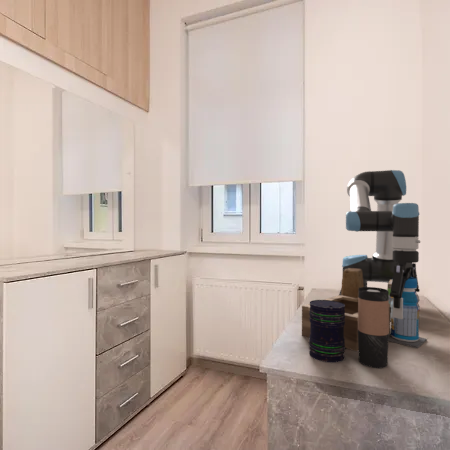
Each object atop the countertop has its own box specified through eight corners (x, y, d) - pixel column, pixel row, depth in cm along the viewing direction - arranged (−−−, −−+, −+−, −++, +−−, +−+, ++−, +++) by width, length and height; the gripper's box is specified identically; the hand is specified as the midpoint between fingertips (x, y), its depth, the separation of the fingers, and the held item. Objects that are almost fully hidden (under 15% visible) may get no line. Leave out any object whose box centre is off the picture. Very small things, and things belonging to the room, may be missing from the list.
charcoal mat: (394, 332, 111) (394, 331, 111) (426, 340, 104) (426, 338, 104) (383, 339, 104) (383, 337, 104) (417, 348, 97) (417, 346, 97)
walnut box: (339, 319, 127) (339, 294, 127) (390, 331, 113) (390, 303, 113) (301, 335, 108) (301, 305, 108) (356, 351, 94) (356, 317, 94)
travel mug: (392, 362, 87) (392, 289, 87) (383, 371, 81) (384, 293, 81) (363, 354, 92) (363, 285, 92) (353, 362, 86) (354, 289, 86)
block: (359, 321, 125) (359, 270, 125) (339, 318, 129) (339, 269, 129) (365, 315, 133) (365, 268, 134) (347, 312, 138) (347, 266, 138)
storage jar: (304, 349, 96) (304, 299, 96) (335, 348, 96) (336, 299, 96) (316, 363, 86) (316, 308, 86) (351, 362, 86) (351, 307, 87)
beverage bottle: (403, 343, 99) (404, 280, 99) (384, 334, 107) (385, 275, 107) (425, 341, 101) (426, 279, 101) (404, 332, 109) (405, 275, 109)
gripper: (405, 252, 93) (404, 324, 93) (429, 249, 110) (428, 309, 110) (378, 250, 99) (378, 318, 99) (405, 247, 116) (405, 305, 116)
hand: (405, 314), depth 104 cm, fingers open, 13 cm apart
